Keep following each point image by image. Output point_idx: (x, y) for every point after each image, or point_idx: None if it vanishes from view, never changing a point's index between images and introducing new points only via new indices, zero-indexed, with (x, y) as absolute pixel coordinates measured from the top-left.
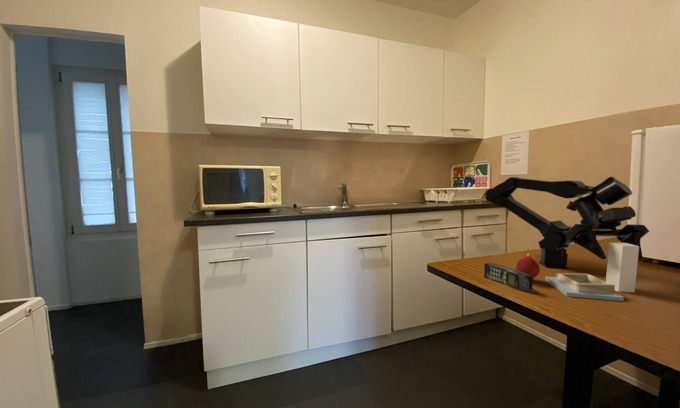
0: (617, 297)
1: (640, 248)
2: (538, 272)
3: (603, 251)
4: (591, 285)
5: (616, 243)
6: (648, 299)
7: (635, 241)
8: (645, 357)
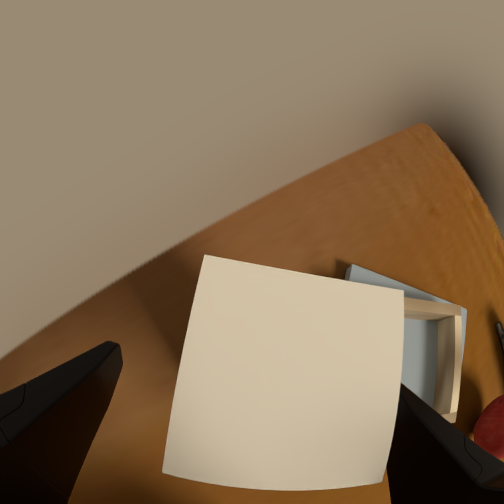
0: (367, 270)
1: (44, 376)
2: (495, 403)
3: (413, 412)
4: (432, 301)
5: (352, 436)
6: None
7: (9, 429)
8: (439, 136)
